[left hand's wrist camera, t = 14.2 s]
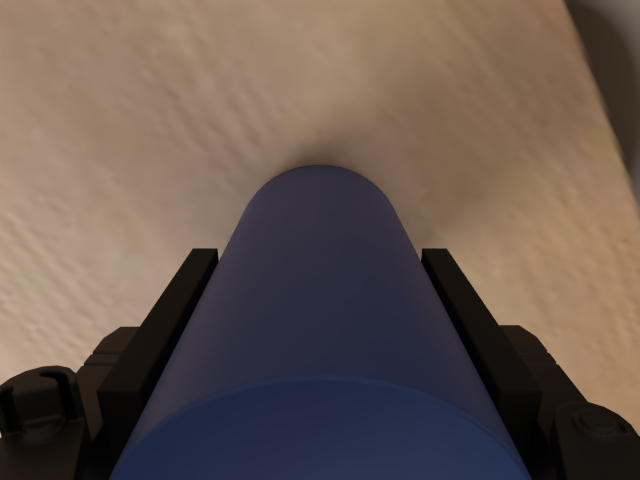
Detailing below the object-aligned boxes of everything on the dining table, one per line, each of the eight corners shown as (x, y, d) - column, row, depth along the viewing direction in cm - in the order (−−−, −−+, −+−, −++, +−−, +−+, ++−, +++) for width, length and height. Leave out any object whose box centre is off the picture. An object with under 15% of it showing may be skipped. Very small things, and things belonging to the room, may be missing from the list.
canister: (284, 133, 16) (204, 291, 5) (433, 214, 17) (643, 494, 6) (211, 274, 18) (39, 614, 7) (349, 339, 19) (390, 721, 8)
